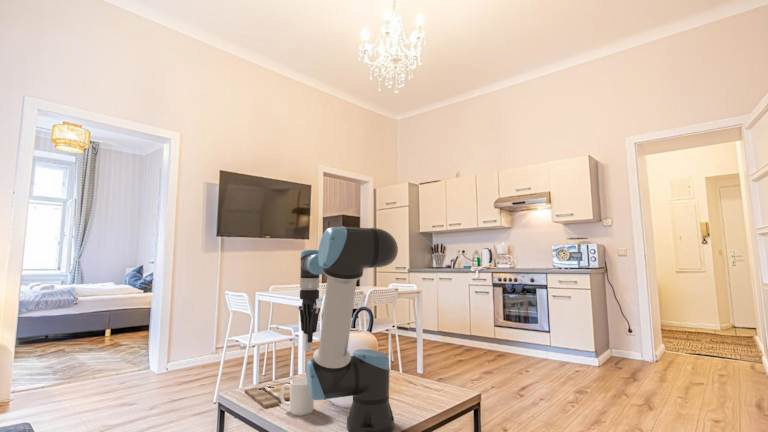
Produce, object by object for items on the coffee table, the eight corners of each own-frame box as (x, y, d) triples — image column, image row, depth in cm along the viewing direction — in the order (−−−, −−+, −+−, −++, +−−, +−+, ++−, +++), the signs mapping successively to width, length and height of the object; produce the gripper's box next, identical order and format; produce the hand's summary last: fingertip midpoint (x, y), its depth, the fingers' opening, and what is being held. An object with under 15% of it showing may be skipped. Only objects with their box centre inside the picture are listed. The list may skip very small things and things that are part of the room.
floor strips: (278, 404, 143) (278, 401, 143) (264, 408, 140) (264, 404, 140) (258, 389, 158) (258, 386, 159) (244, 392, 155) (244, 389, 155)
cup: (310, 416, 133) (311, 385, 134) (275, 415, 134) (276, 384, 135) (316, 407, 141) (316, 377, 142) (283, 405, 142) (284, 376, 143)
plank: (303, 395, 151) (303, 391, 151) (279, 402, 145) (279, 398, 145) (286, 384, 164) (286, 381, 164) (262, 390, 158) (262, 386, 158)
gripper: (326, 289, 153) (325, 352, 150) (309, 288, 163) (308, 347, 160) (309, 290, 148) (308, 355, 145) (293, 288, 158) (291, 349, 155)
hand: (308, 350), depth 153 cm, fingers closed
